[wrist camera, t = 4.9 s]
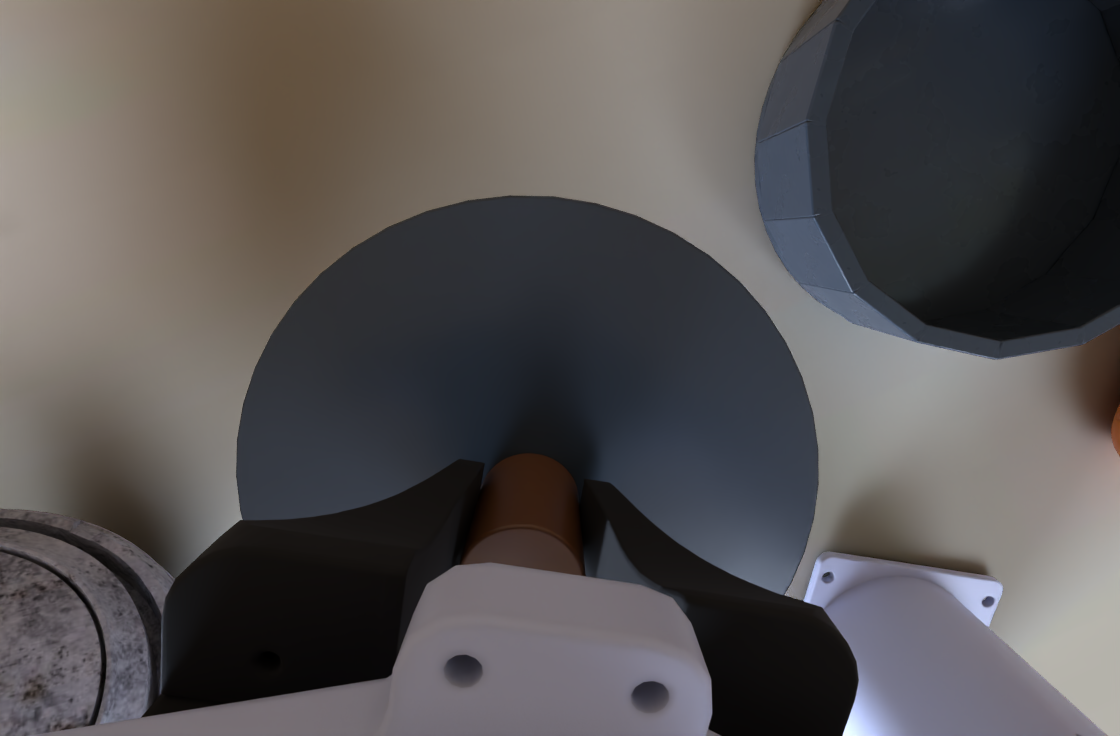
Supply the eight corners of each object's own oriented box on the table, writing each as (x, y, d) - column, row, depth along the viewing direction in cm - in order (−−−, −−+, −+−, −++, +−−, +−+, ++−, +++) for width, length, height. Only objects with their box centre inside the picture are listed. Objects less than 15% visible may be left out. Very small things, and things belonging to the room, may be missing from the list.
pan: (1116, 298, 22) (1260, 314, 17) (771, 359, 22) (825, 390, 18) (1135, -99, 19) (1315, -202, 14) (735, -19, 19) (789, -96, 15)
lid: (819, 662, 16) (920, 825, 12) (340, 737, 17) (261, 922, 12) (775, 146, 13) (891, 101, 9) (182, 257, 13) (-2, 268, 9)
